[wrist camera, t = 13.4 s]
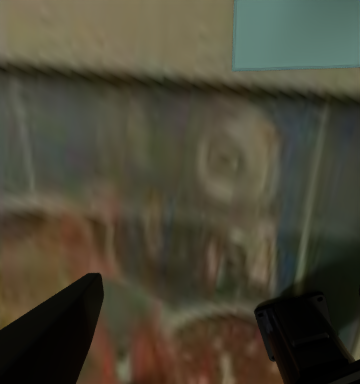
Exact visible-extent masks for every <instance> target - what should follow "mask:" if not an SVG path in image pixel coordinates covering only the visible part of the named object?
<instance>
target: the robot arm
mask: <svg viewBox="0 0 360 384" xmlns="http://www.w3.org/2000/svg"><path fill="white" fill-rule="evenodd" d="M359 295H360V287H359ZM319 297H320V298H319ZM103 298H104V291H103V283H102V277H101V274H100V273H88V274H86V275H85V276H83V277H81V278H80V279H78V280H77V281H75V282H74V283H72V284H71V285H69V286H68V287H66V288H64V289H63V290H61V291H60V292H58V293H57V294H55V295H54V296H52V297H51V298H49V299H47V300H46V301H44V302H43V303H41V304H40V305H38V306H37V307H35V308H34V309H32V310H30V311H29V312H27V313H26V314H24V315H23V316H21V317H20V318H18V319H17V320H15V321H13V322H12V323H10V324H9V325H7V326H6V327H4V328H3V329H1V330H0V384H76V382H77V379H78V377H79V374H80V372H81V369H82V366H83V364H84V361H85V359H86V356H87V354H88V351H89V348H90V345H91V342H92V339H93V335H94V332H95V328H96V325H97V321H98V317H99V314H100V310H101V306H102V303H103ZM259 313H261V314H259ZM254 314H255V317H256V320H257V323H258V326H259V329H260V332H261V335H262V338H263V341H264V344H265V347H266V350H267V353H268V356H269V359H270V360H271V361H273V362H274V361H276V363H277V366H278V369H279V371H280V374H281V377H282V379H283V382H284V384H360V359H359V360H357V361H355V359H354V358H353V357H352V355H351V354H350V352H349V351H348V350H347V348H346V347H345V345H344V344H343V342H342V341H341V340H340V338H339V337H338V335H337V334H336V333H335V331H334V330H333V328H332V324H331V320H330V315H329V311H328V306H327V302H326V297H325V296H324V295H323V293H321V292H315V293H311V294H307V295H303V296H300V297H296V298H292V299H288V300H285V301H281V302H277V303H273V304H270V305H266V306H262V307H258V308H256V309H255V311H254Z"/></svg>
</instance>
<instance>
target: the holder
mask: <svg viewBox="0 0 360 384" xmlns="http://www.w3.org/2000/svg"><path fill="white" fill-rule="evenodd" d="M353 67H360V0H234V24H233V55H232V71H258V70H290V69H321V68H353Z"/></svg>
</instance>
